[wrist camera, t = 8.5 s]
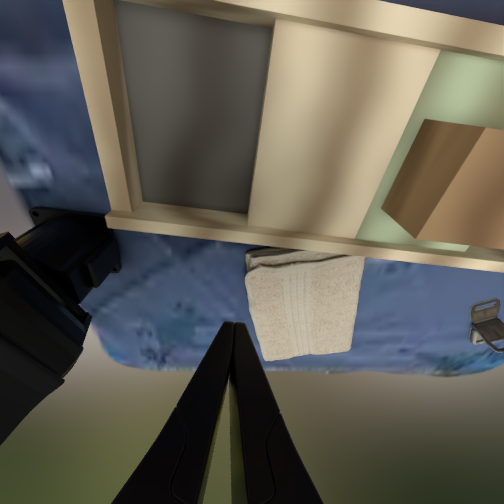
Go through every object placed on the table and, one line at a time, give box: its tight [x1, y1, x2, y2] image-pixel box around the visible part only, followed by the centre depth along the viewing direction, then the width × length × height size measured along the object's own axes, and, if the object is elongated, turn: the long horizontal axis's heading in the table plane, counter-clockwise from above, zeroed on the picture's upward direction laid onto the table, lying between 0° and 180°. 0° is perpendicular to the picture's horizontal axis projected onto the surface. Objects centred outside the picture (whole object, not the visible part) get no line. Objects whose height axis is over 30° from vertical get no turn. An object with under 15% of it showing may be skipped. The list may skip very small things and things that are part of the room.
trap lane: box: [63, 0, 504, 272], centre depth 16 cm, size 40×14×4 cm, turn 82°
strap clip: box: [469, 298, 504, 353], centre depth 28 cm, size 8×3×4 cm, turn 28°
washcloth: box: [245, 247, 366, 361], centre depth 26 cm, size 12×18×3 cm, turn 10°
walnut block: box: [381, 119, 504, 250], centre depth 14 cm, size 6×6×4 cm
